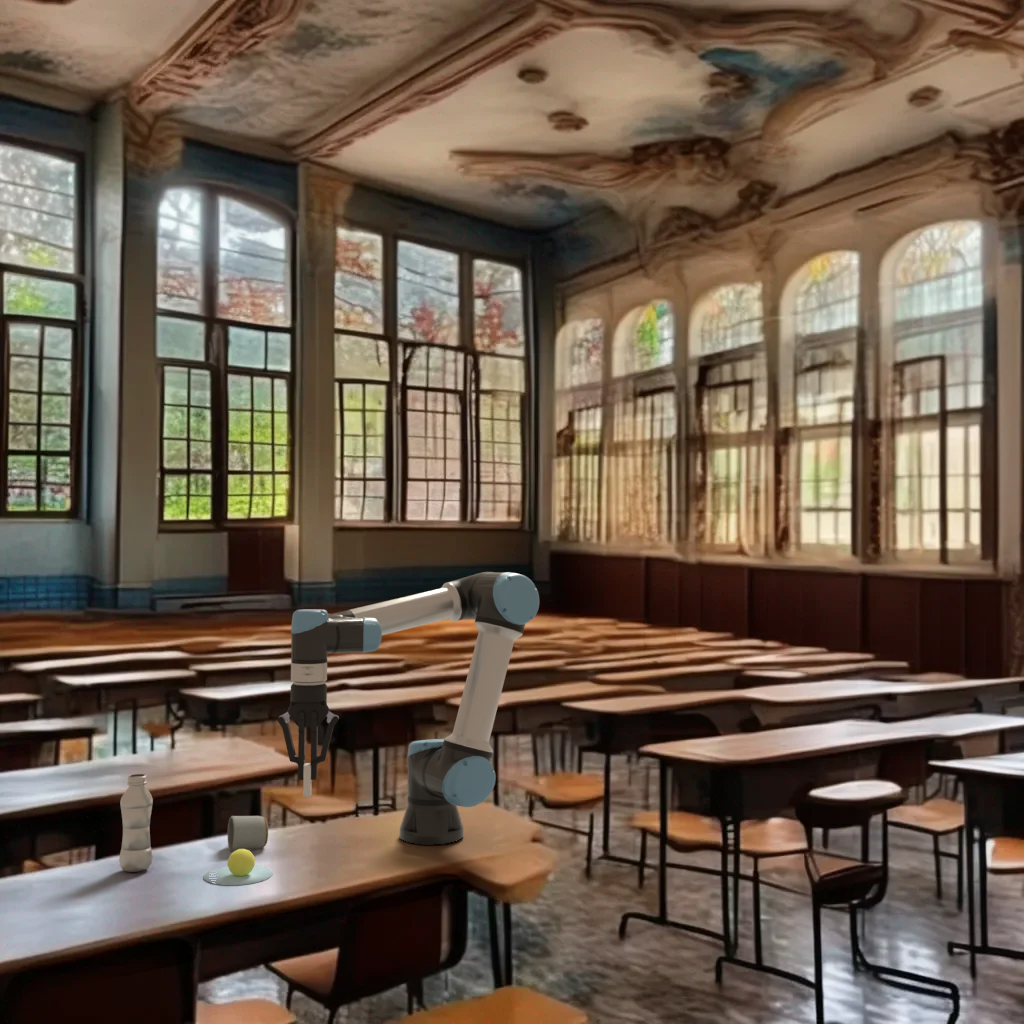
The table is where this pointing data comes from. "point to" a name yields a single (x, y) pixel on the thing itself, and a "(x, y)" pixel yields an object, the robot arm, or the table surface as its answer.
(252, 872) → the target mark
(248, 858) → the ball
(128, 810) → the plastic bottle
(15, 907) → the table surface
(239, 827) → the ceramic mug
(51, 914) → the table surface
